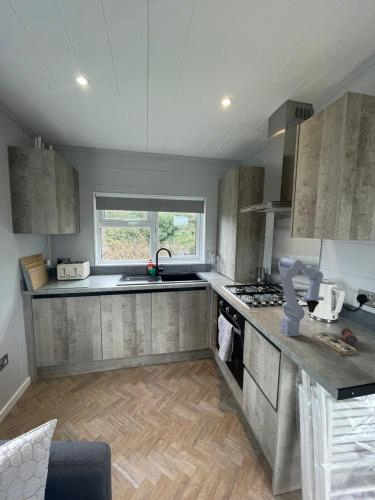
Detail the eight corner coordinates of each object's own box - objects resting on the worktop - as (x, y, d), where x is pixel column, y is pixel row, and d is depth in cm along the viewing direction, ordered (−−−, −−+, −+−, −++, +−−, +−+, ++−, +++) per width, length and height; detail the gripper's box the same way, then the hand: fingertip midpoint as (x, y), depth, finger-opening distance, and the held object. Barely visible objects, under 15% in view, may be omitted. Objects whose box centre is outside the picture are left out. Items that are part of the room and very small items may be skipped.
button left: (323, 338, 118) (323, 335, 118) (318, 335, 121) (319, 332, 121) (327, 337, 119) (328, 335, 119) (323, 335, 122) (323, 332, 122)
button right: (346, 352, 106) (346, 349, 106) (340, 348, 109) (340, 345, 109) (350, 351, 107) (351, 348, 106) (345, 348, 110) (345, 345, 109)
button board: (339, 355, 104) (340, 351, 104) (311, 337, 121) (311, 333, 120) (355, 353, 107) (356, 348, 107) (326, 335, 123) (326, 331, 123)
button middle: (334, 343, 112) (334, 340, 112) (329, 340, 115) (329, 337, 115) (339, 342, 113) (339, 339, 113) (333, 339, 116) (334, 336, 115)
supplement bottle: (349, 326, 120) (355, 335, 110) (356, 336, 119) (362, 346, 109) (338, 329, 123) (342, 339, 112) (344, 339, 122) (349, 350, 112)
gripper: (308, 292, 124) (306, 315, 126) (329, 291, 128) (326, 314, 130) (299, 289, 131) (297, 310, 133) (319, 288, 135) (316, 309, 136)
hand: (311, 312), depth 132 cm, fingers closed
